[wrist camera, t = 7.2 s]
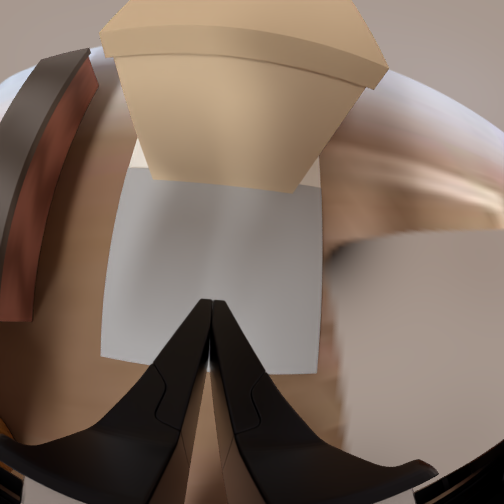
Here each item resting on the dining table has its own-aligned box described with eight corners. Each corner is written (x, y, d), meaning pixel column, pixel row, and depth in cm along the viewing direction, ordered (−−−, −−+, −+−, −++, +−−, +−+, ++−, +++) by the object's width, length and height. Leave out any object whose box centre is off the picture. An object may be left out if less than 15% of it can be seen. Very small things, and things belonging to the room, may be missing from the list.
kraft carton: (295, 197, 17) (389, 68, 6) (149, 182, 16) (99, 32, 5) (291, 63, 21) (327, -32, 10) (190, 51, 19) (195, -51, 8)
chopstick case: (34, 324, 13) (-8, 325, 9) (-11, 309, 12) (-49, 305, 8) (101, 84, 18) (89, 47, 13) (56, 90, 17) (41, 59, 13)
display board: (313, 371, 16) (316, 373, 15) (103, 354, 14) (100, 356, 13) (310, 79, 21) (311, 75, 20) (169, 62, 19) (168, 58, 19)
